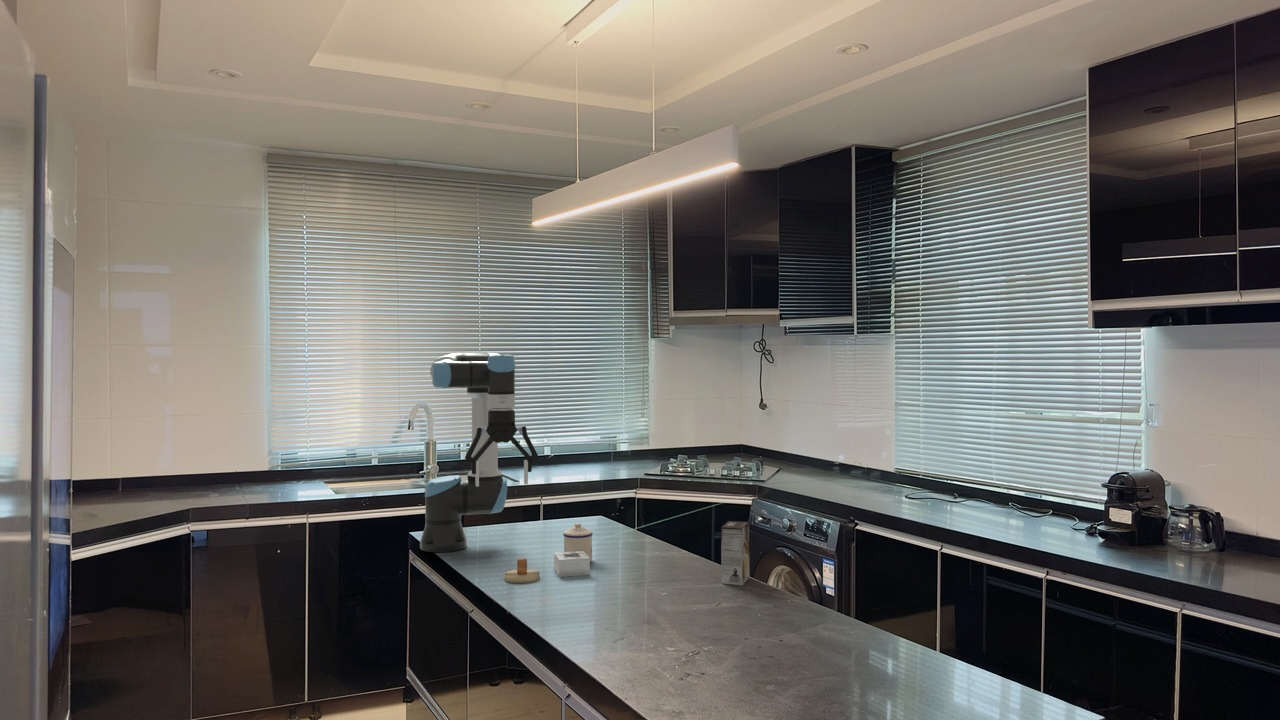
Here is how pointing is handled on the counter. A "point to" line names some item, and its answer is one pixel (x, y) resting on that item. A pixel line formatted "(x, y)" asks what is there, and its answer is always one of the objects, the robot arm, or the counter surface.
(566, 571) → the white boxy piece
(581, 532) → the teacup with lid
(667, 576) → the counter surface
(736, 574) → the coffee box
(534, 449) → the robot arm
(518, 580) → the hub
